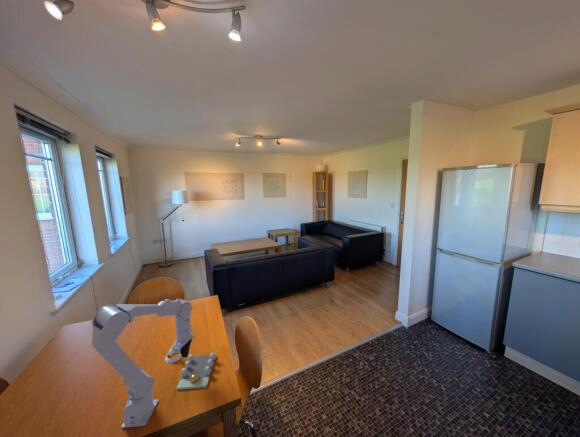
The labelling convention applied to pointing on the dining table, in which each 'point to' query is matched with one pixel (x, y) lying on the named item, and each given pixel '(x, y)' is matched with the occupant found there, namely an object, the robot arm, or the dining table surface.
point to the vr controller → (172, 354)
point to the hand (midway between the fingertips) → (185, 356)
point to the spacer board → (197, 364)
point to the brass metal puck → (194, 377)
